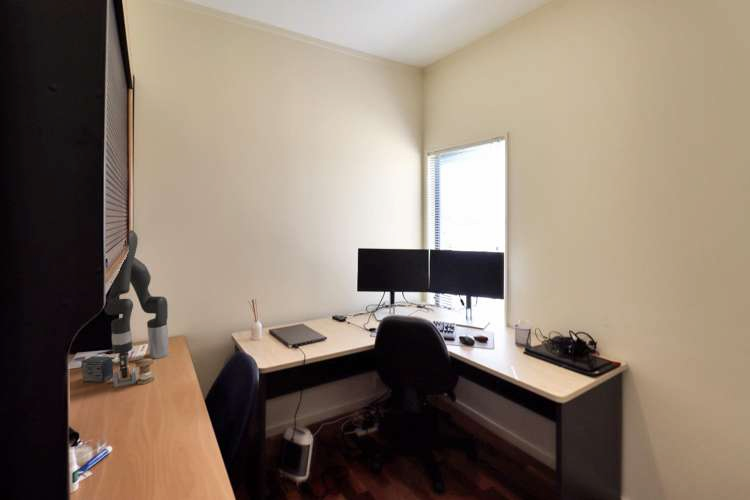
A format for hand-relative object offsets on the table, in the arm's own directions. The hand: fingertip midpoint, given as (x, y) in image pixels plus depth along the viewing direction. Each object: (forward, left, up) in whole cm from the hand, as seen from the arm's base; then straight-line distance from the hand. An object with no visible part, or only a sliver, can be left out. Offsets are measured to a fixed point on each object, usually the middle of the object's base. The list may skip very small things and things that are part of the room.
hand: (125, 376), depth 168 cm
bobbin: (+4, +8, -3) cm, 9 cm away
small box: (-9, -11, -3) cm, 15 cm away
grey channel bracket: (0, 0, -3) cm, 3 cm away
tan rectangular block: (0, 0, -1) cm, 1 cm away
